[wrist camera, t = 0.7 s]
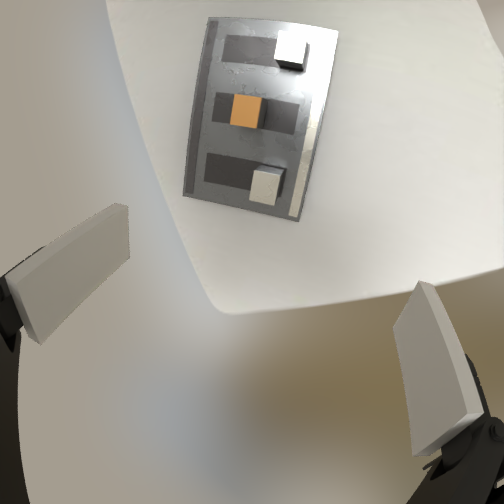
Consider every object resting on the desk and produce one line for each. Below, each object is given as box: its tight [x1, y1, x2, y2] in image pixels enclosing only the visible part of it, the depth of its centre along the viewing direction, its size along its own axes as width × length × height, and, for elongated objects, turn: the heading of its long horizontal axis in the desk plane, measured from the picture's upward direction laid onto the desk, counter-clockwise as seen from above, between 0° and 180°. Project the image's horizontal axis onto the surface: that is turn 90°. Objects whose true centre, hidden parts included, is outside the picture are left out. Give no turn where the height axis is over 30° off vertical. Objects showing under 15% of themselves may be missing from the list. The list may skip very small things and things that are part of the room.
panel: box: [183, 17, 338, 222], centre depth 26 cm, size 22×14×6 cm, turn 171°
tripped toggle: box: [230, 94, 268, 128], centre depth 25 cm, size 3×2×4 cm
